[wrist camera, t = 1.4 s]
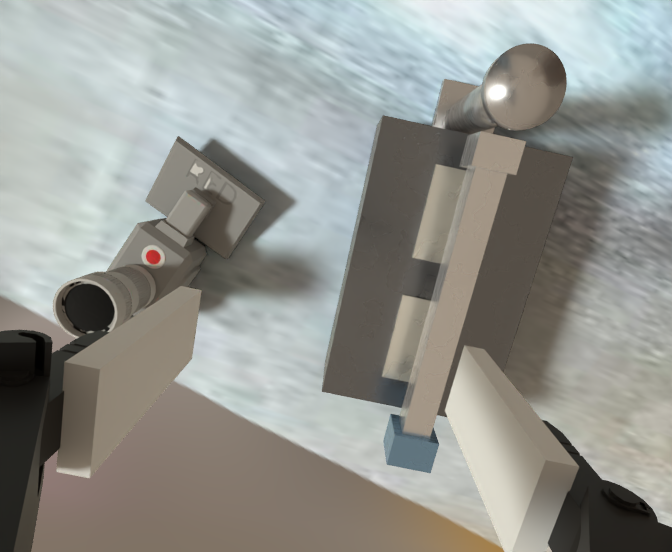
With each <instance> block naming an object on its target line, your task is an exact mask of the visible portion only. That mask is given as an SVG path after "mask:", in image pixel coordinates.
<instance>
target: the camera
mask: <svg viewBox="0 0 672 552" xmlns="http://www.w3.org/2000/svg"><path fill="white" fill-rule="evenodd" d="M146 202H147V203H149V204H150V205H151V206H153V207H154V208H156V209H157V210H158V211H160V212H161V213H163V214H164V215H165V216H167V218H164V219H157V220H152V221H147V222H141V223H137V225H136V226H135V228H134V230H133V231H132V233H131V234H130V236H129V237H128V239H127V240H126V242H125V243H124V245H123V246H122V248H121V250H120V251H119V253H118V254H117V256H116V257H115V259H114V260H113V262H112V263H111V265H110V266H109V268H108V269H107V271H106V272H94V273H91V274H88V275H85V276H82V277H79V278H76V279H74V280H71V281H68V282H67V283H65V284H63V285H62V286H61V287H60V288H59V289H58V291H57V292H56V294H55V297H54V300H53V312H54V316H55V318H56V320H57V322H58V324H59V325H60V327H61V328H62V329H63V330H64V331H65V332H66V333H68V334H69V335H71V336H73V337H74V338H79V337H80V336H82V335H85V334H89V333H93V332H96V331H105V332H111V331H113V330H114V329H116V328H117V327H119V326H120V325H122V324H123V323H125V322H126V321H128V320H129V319H131V318H133V317H134V316H136V315H137V314H139V313H140V312H142V311H143V310H145V309H146V308H148V307H149V306H151V305H152V304H154V303H156V302H157V301H159V300H160V299H162V298H163V297H165V296H166V295H168V294H169V293H171V292H172V291H174V290H175V289H177V288H178V287H180V286H184V287H188V286H189V285H190V283H191V282H192V281H193V279H194V278H195V276H196V275H197V273H198V272H199V271H200V266H199V265H200V264H201V262H202V261H203V259H204V258H205V256H206V255H207V254H206V249H205V246H204V245H202V244H201V243H200V242H198V241H197V240H196V239H194V236H195V237H196V238H197V239H199V240H200V241H201V242H203V243H204V244H206V245H207V246H208V247H210V248H211V249H213V250H214V251H215V252H217V253H218V254H220V255H221V256H222V257H224V258H225V259H228V258H229V257H230V255H231V253H232V252H233V250H234V249H235V247H236V246H237V244H238V243H239V241H240V240H241V238H242V237H243V235H244V234H245V232H246V231H247V229H248V228H249V226H250V225H251V223H252V222H253V220H254V219H255V217H256V215H257V214H258V212H259V211H260V209H261V208H262V206H263V205H264V203H265V202H266V201H265V200H263V199H262V198H261V197H259V196H258V195H257V194H255V193H254V192H253V191H251V190H250V189H249V188H247V187H246V186H245V185H243V184H242V183H241V182H239V181H238V180H237V179H235V178H234V177H233V176H231V175H230V174H229V173H227V172H226V171H225V170H223V169H222V168H221V167H219V166H218V165H217V164H215V163H214V162H213V161H211V160H210V159H209V158H207V157H206V156H205V155H203V154H202V153H201V152H199V151H198V150H197V149H195V148H194V147H193V146H191V145H190V144H189V143H187V142H186V141H184V140H183V139H182V138H180V137H179V136H178V137H177V139H176V141H175V143H174V145H173V147H172V149H171V151H170V153H169V155H168V157H167V159H166V161H165V163H164V165H163V167H162V169H161V171H160V173H159V175H158V177H157V179H156V181H155V183H154V185H153V187H152V189H151V191H150V193H149V195H148V197H147V199H146Z"/></svg>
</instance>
